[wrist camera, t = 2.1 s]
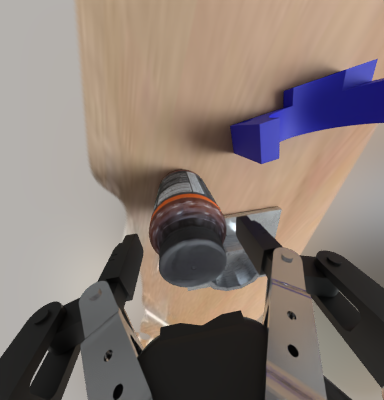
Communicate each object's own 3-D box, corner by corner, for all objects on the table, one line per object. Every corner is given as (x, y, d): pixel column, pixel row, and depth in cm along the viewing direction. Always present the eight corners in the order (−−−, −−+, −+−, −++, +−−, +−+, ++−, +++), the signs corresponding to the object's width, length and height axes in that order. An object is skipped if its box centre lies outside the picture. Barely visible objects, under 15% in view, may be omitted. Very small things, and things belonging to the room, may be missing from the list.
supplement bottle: (206, 206, 19) (242, 288, 9) (164, 213, 19) (155, 306, 9) (202, 164, 17) (247, 217, 7) (153, 172, 16) (122, 240, 6)
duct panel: (173, 223, 20) (173, 242, 17) (277, 206, 21) (297, 221, 18) (187, 286, 28) (189, 308, 24) (263, 272, 28) (275, 291, 25)
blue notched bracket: (339, 71, 14) (439, 37, 9) (330, 120, 16) (407, 116, 11) (227, 110, 14) (258, 99, 9) (233, 152, 17) (261, 164, 11)
